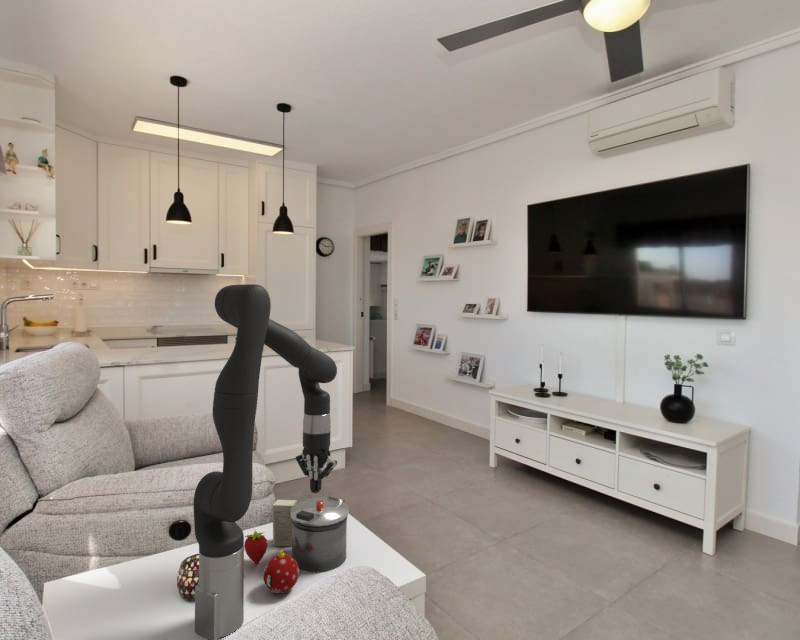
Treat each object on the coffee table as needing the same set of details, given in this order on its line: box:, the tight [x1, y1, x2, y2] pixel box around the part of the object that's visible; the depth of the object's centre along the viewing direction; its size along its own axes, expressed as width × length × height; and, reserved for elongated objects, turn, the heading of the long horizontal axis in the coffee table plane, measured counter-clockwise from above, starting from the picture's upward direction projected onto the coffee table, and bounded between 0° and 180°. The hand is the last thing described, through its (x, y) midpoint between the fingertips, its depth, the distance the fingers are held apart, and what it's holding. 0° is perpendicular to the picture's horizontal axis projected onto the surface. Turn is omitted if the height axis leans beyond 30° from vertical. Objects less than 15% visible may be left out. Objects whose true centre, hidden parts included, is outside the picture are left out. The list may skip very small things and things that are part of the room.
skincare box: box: [271, 499, 298, 547], centre depth 142 cm, size 6×4×12 cm
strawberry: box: [244, 529, 268, 566], centre depth 130 cm, size 6×8×10 cm
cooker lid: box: [290, 496, 350, 526], centre depth 134 cm, size 17×16×3 cm
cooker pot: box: [291, 516, 348, 573], centre depth 134 cm, size 15×15×12 cm
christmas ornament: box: [262, 549, 300, 594], centre depth 118 cm, size 9×9×10 cm
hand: (315, 492), depth 131 cm, fingers closed
